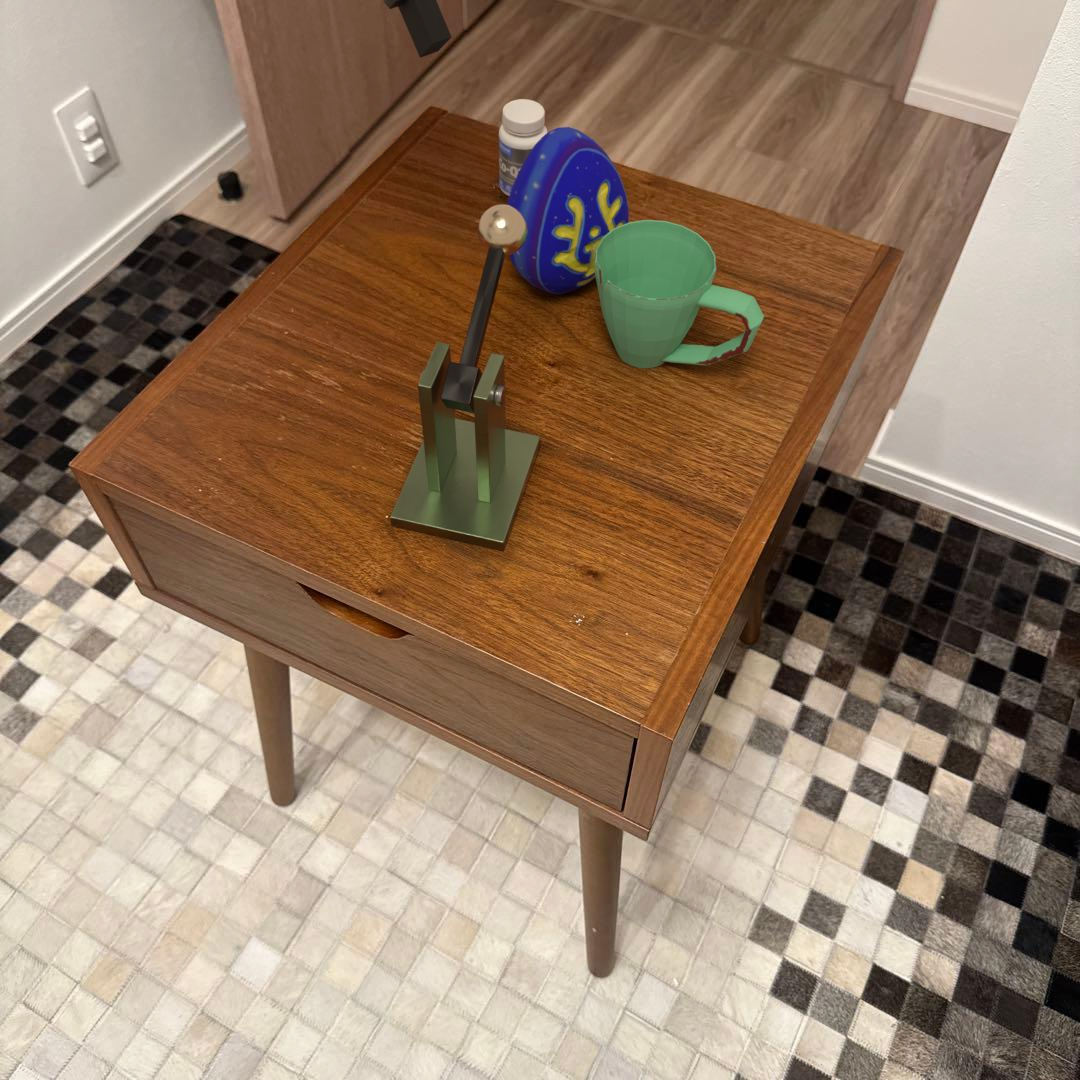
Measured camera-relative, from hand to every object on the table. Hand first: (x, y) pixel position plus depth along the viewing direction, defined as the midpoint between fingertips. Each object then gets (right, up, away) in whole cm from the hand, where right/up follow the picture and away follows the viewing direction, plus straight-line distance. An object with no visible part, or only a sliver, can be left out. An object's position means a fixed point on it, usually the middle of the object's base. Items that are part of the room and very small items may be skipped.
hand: (435, 47), depth 73 cm
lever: (+3, -17, +5) cm, 18 cm away
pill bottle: (+5, +2, +34) cm, 35 cm away
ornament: (+9, -9, +26) cm, 29 cm away
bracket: (+1, -29, +12) cm, 32 cm away
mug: (+18, -18, +20) cm, 33 cm away
